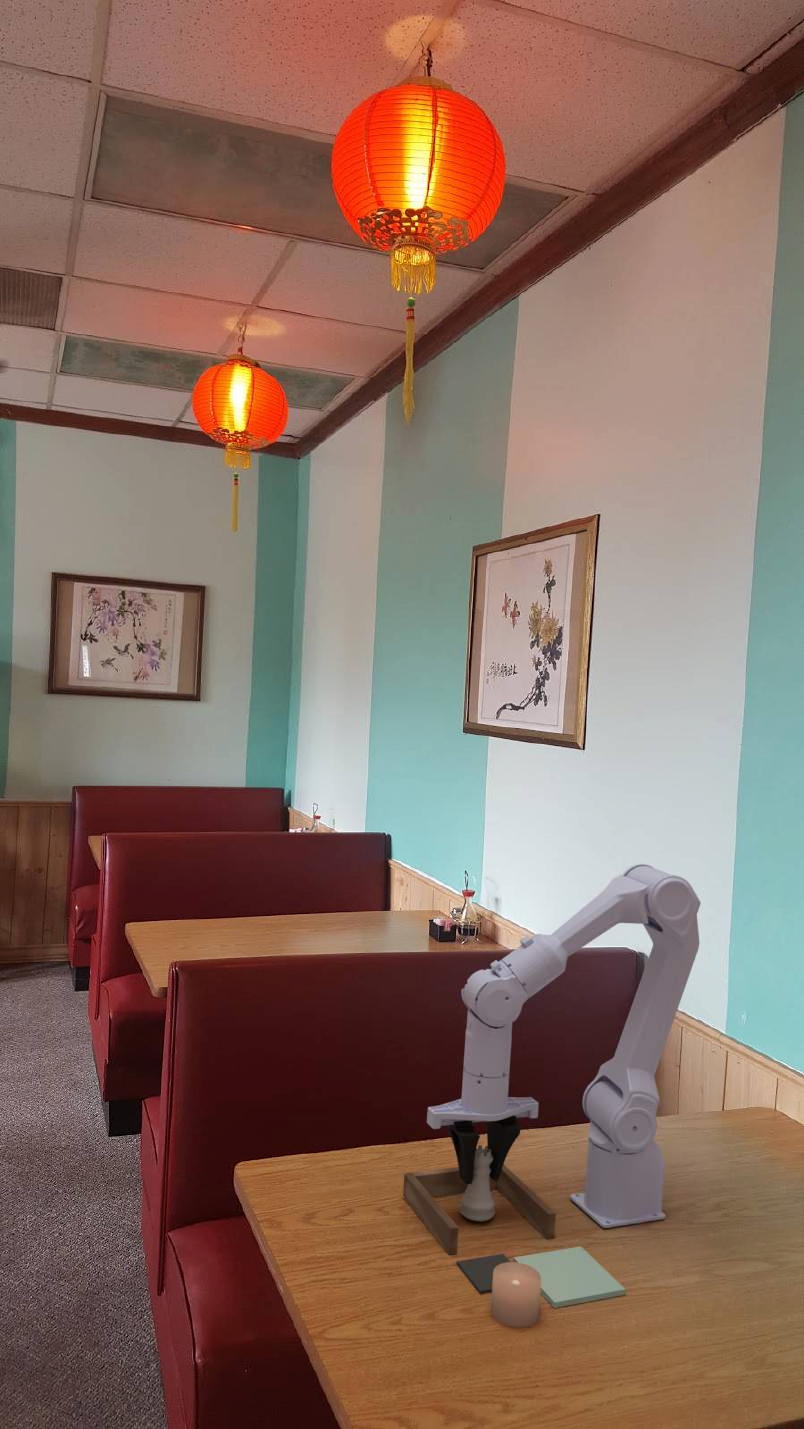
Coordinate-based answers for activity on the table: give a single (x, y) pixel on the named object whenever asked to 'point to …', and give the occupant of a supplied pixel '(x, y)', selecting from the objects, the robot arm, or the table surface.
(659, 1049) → the robot arm
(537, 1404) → the table surface
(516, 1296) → the peach short cylinder
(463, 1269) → the dark gray tile
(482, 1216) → the rook chess piece
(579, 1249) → the coaster
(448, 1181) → the cubby
